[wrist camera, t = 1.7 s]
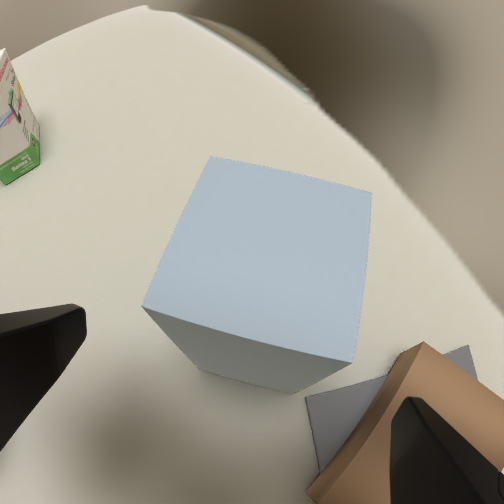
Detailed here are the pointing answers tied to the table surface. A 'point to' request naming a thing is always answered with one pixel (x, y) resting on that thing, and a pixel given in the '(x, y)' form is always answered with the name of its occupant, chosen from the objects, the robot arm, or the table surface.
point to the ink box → (15, 126)
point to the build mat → (354, 409)
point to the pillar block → (265, 275)
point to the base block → (381, 414)
